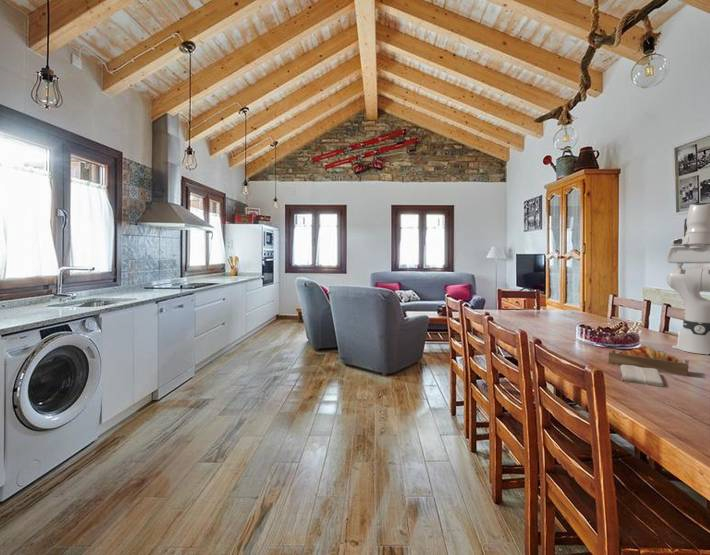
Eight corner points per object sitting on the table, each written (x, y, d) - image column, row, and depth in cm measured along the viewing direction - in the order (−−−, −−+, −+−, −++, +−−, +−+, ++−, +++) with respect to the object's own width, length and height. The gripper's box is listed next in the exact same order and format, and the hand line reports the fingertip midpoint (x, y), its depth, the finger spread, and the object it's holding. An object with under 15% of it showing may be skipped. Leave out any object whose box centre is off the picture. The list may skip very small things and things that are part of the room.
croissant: (680, 373, 156) (679, 354, 159) (686, 367, 148) (685, 347, 151) (617, 364, 167) (618, 346, 170) (619, 358, 159) (620, 340, 162)
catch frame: (612, 359, 163) (612, 349, 163) (688, 371, 146) (688, 360, 146) (608, 363, 157) (608, 352, 157) (687, 376, 141) (687, 364, 140)
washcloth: (657, 375, 144) (657, 366, 144) (664, 389, 129) (665, 380, 128) (619, 369, 150) (619, 362, 150) (621, 382, 135) (622, 374, 135)
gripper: (735, 240, 151) (733, 275, 150) (672, 243, 168) (670, 274, 168) (729, 238, 147) (727, 274, 147) (666, 241, 165) (663, 273, 165)
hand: (696, 274), depth 158 cm, fingers open, 8 cm apart
